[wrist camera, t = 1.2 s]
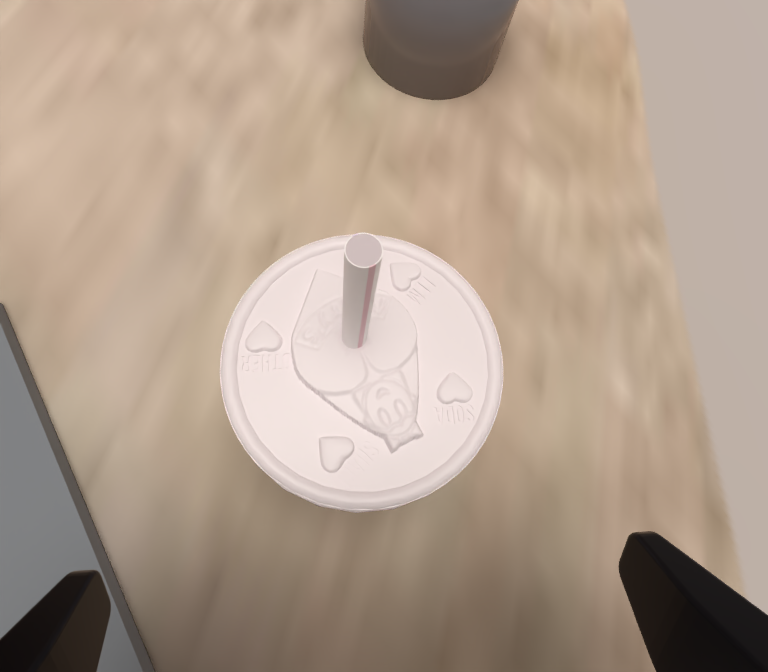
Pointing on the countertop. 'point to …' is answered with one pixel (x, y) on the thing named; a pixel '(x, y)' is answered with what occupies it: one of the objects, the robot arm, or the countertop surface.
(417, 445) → the smoothie
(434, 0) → the grey rounded canister
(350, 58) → the countertop surface
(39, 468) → the slate mat
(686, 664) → the robot arm
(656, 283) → the countertop surface
